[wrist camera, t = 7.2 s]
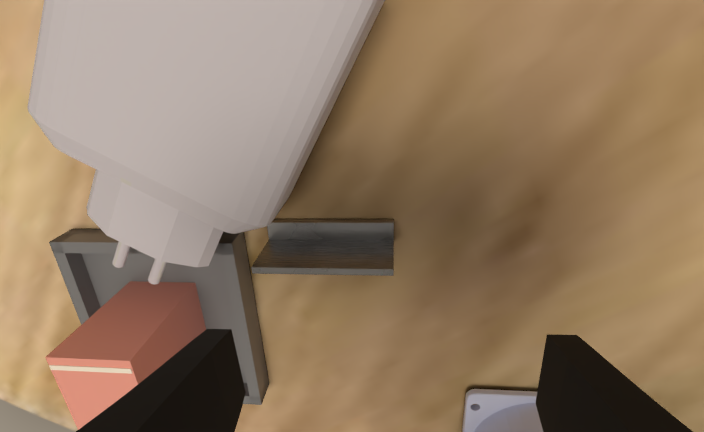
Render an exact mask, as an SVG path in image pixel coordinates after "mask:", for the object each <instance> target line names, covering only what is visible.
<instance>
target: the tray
mask: <svg viewBox="0 0 704 432" xmlns="http://www.w3.org/2000/svg"><path fill="white" fill-rule="evenodd" d="M118 242H119V241H117V240H115V239H113V238H111V237H109V236H107V235H106V234H105V233H104V232H103V231H102V230H101V229H71V230H69V231H68V232H66V233H64V234H62V235H61V236H59V237H57V238H55V239H54V240H52V241H50V242H49V243H50V246H51V248H52V251H53V253H54V256H55V258H56V261H57V263H58V266H59V269H60V271H61V274H62V276H63V279H64V281H65V284H66V286H67V289H68V292H69V294H70V297H71V299H72V302H73V304H74V307H75V309H76V312H77V315H78V317H79V320H80V322H81V325H82V324H83V323H84V322H85V321H86V320H88V319H89V318H90V317H91V316H92V315H93V314H94V313H95V312H96V311H98V310H99V309H100V308H101V307H102V306H103V305H104V304H105V303H106V302H108V301H109V300H110V299H111V298H112V297H113V296H114V295H115V294H117V293H118V292H119V291H120V290H121V289H122V288H123V287H124V286H125V285H127V284H128V283H129V282H130V281H139V282H149V281H148V277H149V274H150V271H151V269H152V266H153V263H154V260H155V258H153V257H151V256H148V255H146V254H144V253H142V252H140V251H138V250H136V249H134V248H132V247H130V250H129V253H128V256H127V260H126V263H125V266H124V267H122V268H117V267H115V266H114V265H113V264H112V262H113V259H114V255H115V252H116V248H117V245H118ZM160 282H191V283H195V284H196V288H197V292H198V296H199V301H200V305H201V309H202V313H203V318H204V322H205V326H206V330H207V329H232V334H233V338H234V343H235V347H236V352H237V356H238V360H239V365H240V369H241V374H242V378H243V383H244V387H245V391H246V394H245V397H244V401H243V404H257V405H261V404H262V402H263V399H264V396H265V394H266V391H267V388H268V385H269V380H268V374H267V368H266V362H265V356H264V350H263V344H262V338H261V333H260V327H259V321H258V315H257V309H256V303H255V297H254V291H253V285H252V279H251V273H250V267H249V262H248V256H247V250H246V244H245V238H244V232H241V233H236V234H231V233H227V232H224V231H223V233H222V236H221V238H220V240H219V243H218V245H217V247H216V250H215V252H214V254H213V257H212V259H211V262H210V264H209V266H205V267H192V266H186V265H180V264H174V263H168V262H167V264H166V266H165V269H164V272H163V274H162V277H161V280H160Z"/></svg>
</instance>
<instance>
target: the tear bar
mask: <svg viewBox="0 0 704 432" xmlns="http://www.w3.org/2000/svg"><path fill="white" fill-rule="evenodd" d="M267 228H268V235H269V241H268V242H267V244H266V245H265V247H264V248H263V250H262V251H261V253H260V255H259V256H258V258H257V259H256V261H255V262H254V264H253V265H252V267H251V268H252V273H260V274H324V275H387V276H393V254H394V219H273V221H272V222H271V224H270V225H268V226H267Z"/></svg>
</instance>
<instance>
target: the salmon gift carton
mask: <svg viewBox="0 0 704 432" xmlns="http://www.w3.org/2000/svg"><path fill="white" fill-rule="evenodd" d="M205 330H206V326H205V322H204V318H203V313H202V309H201V305H200V301H199V296H198V292H197V288H196V284H195V283H191V282H159V284H155V285H154V284H151V283H149V282H139V281H130V282H129V283H128V284H127V285H125V286H124V287H123V288H122V289H121V290H120V291H119V292H118V293H117V294H115V295H114V296H113V297H112V298H111V299H110V300H109V301H108V302H106V303H105V304H104V305H103V306H102V307H101V308H100V309H99V310H98V311H96V312H95V313H94V314H93V315H92V316H91V317H90V318H89V319H88V320H86V321H85V322H84V323H83V324H82V325H81V326H80V327H79V328H77V329H76V330H75V331H74V332H73V333H72V334H71V335H70V336H69V337H67V338H66V339H65V340H64V341H63V342H62V343H61V344H60V345H59V346H57V347H56V348H55V349H54V350H53V351H52V352H51V353H50V354H49V355H47V356H46V357H45V358H46V360H47V362H48V364H49V366H50V369H51V371H52V373H53V375H54V377H55V380H56V382H57V384H58V386H59V388H60V391H61V393H62V395H63V397H64V399H65V402H66V404H67V406H68V408H69V410H70V413H71V415H72V417H73V419H74V422H75V424H76V426H77V428H78V430H79V429H80V428H82V427H83V426H84V425H86V424H87V423H88V422H90V421H91V420H92V419H94V418H95V417H96V416H98V415H99V414H100V413H102V412H103V411H104V410H106V409H107V408H108V407H110V406H111V405H112V404H114V403H115V402H116V401H118V400H119V399H120V398H122V397H123V396H124V395H125V394H127V393H128V392H129V391H130V390H132V389H133V388H134V387H135V386H137V385H138V384H139V383H140V382H142V381H143V380H144V379H145V378H147V377H148V376H149V375H150V374H152V373H153V372H154V371H155V370H157V369H158V368H159V367H160V366H162V365H163V364H164V363H165V362H166V361H168V360H169V359H170V358H171V357H173V356H174V355H175V354H176V353H177V352H179V351H180V350H181V349H182V348H184V347H185V346H186V345H187V344H188V343H190V342H191V341H192V340H193V339H195V338H196V337H197V336H199V335H200V334H201V333H202V332H204V331H205Z"/></svg>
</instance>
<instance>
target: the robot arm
mask: <svg viewBox="0 0 704 432" xmlns="http://www.w3.org/2000/svg"><path fill="white" fill-rule="evenodd" d="M245 394H246V391H245V387H244V383H243V378H242V374H241V369H240V365H239V360H238V356H237V352H236V347H235V343H234V338H233V334H232V329H207V330H205V331H204V332H202V333H201V334H200V335H199V336H197V337H196V338H195V339H193V340H192V341H191V342H190V343H188V344H187V345H186V346H185V347H184V348H182V349H181V350H180V351H179V352H177V353H176V354H175V355H174V356H173V357H171V358H170V359H169V360H168V361H166V362H165V363H164V364H163V365H162V366H160V367H159V368H158V369H157V370H155V371H154V372H153V373H152V374H150V375H149V376H148V377H147V378H145V379H144V380H143V381H142V382H140V383H139V384H138V385H137V386H135V387H134V388H133V389H132V390H130V391H129V392H128V393H127V394H125V395H124V396H123V397H122V398H120V399H119V400H118V401H116V402H115V403H114V404H112V405H111V406H110V407H108V408H107V409H106V410H104V411H103V412H102V413H100V414H99V415H98V416H96V417H95V418H94V419H92V420H91V421H90V422H88V423H87V424H86V425H84V426H83V427H82V428H80V429H79V430H78V431H76V432H234V431H235V428H236V425H237V422H238V418H239V415H240V412H241V408H242V404H243V401H244V397H245ZM473 404H476V405H473ZM462 432H693V431H691V430H690V429H689V428H687V427H686V426H685V425H684V424H682V423H681V422H680V421H679V420H677V419H676V418H675V417H674V416H672V415H671V414H670V413H669V412H668V411H666V410H665V409H664V408H663V407H661V406H660V405H659V404H658V403H657V402H655V401H654V400H653V399H652V398H651V397H649V396H648V395H647V394H646V393H645V392H643V391H642V390H641V389H640V388H639V387H637V386H636V385H635V384H634V383H633V382H632V381H630V380H629V379H628V378H627V377H626V376H624V375H623V374H622V373H621V372H620V371H619V370H617V369H616V368H615V367H614V366H613V365H612V364H610V363H609V362H608V361H607V360H606V359H605V358H603V357H602V356H601V355H600V354H599V353H598V352H596V351H595V350H594V349H593V348H592V347H591V346H589V345H588V344H587V343H586V342H585V341H583V340H582V339H581V338H580V337H578V336H577V335H547V338H546V344H545V350H544V356H543V362H542V368H541V374H540V379H539V385H538V391H537V392H534V391H512V390H490V389H471V390H469V391H468V392H467V393H466V396H465V407H464V417H463V427H462Z"/></svg>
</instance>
